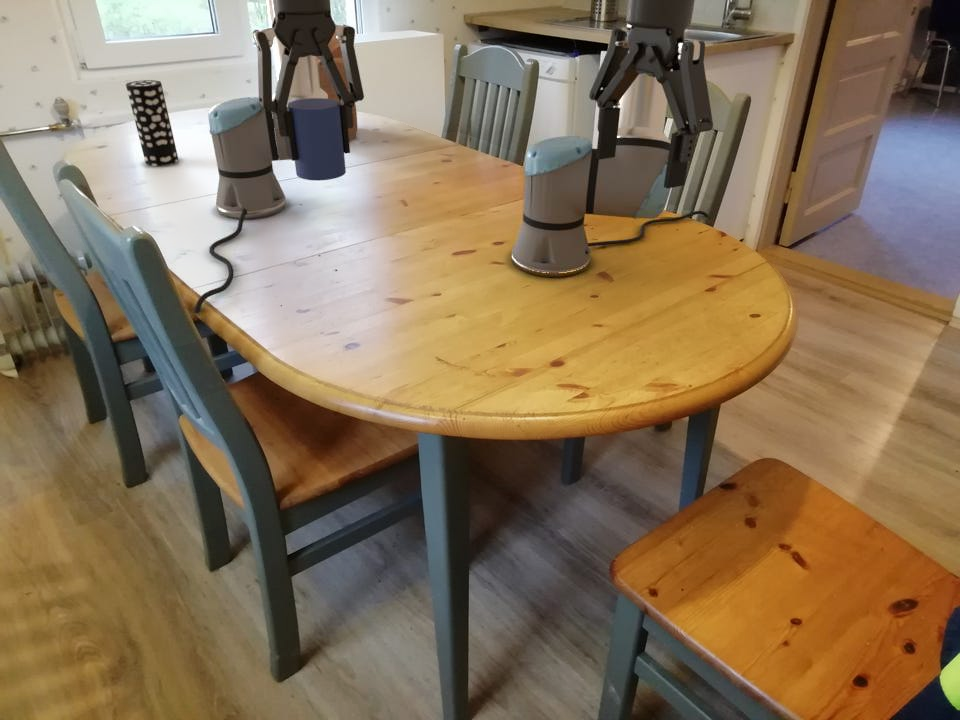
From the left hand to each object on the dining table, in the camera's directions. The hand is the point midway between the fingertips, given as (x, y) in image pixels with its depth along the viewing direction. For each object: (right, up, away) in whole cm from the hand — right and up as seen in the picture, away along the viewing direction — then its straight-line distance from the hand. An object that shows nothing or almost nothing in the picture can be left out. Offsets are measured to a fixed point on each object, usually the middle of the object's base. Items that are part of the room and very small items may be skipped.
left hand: (318, 154), depth 102 cm
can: (0, -2, +1) cm, 3 cm away
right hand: (+45, -6, -12) cm, 47 cm away
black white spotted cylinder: (-62, +32, +79) cm, 105 cm away
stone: (-20, +38, +109) cm, 117 cm away
